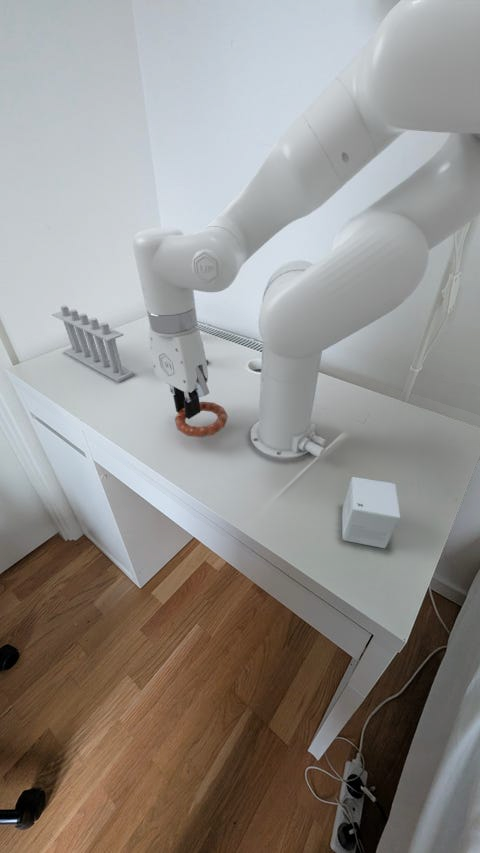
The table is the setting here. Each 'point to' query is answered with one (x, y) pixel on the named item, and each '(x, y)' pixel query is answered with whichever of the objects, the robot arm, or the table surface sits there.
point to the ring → (203, 430)
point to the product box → (370, 512)
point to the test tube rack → (93, 343)
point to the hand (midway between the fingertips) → (188, 411)
